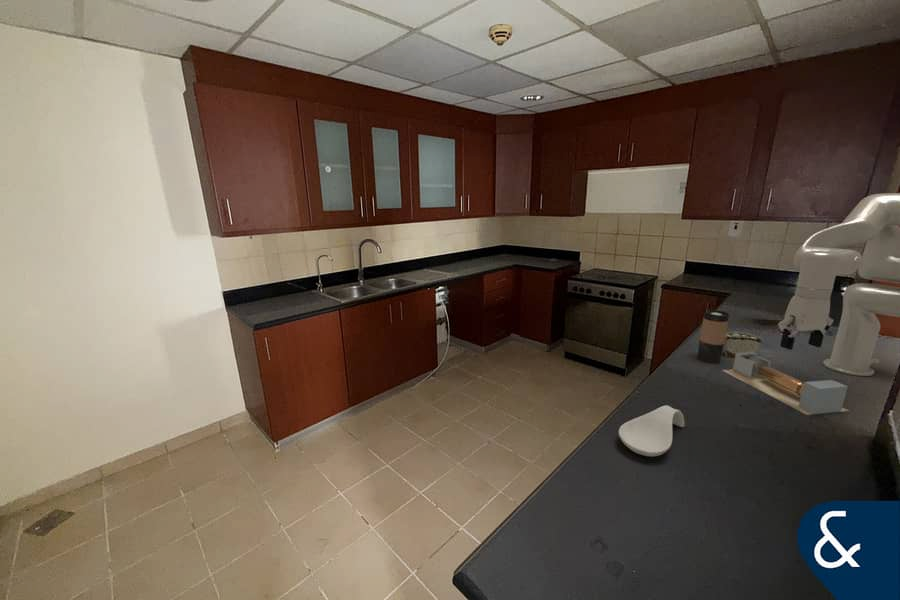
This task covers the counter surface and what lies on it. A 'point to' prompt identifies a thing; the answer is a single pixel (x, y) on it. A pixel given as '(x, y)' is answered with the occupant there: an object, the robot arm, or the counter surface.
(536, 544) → the counter surface
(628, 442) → the spoon rest
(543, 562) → the counter surface
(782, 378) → the tube
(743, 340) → the food container
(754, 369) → the sleeve
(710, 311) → the travel mug
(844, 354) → the robot arm
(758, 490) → the counter surface
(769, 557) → the counter surface
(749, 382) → the board
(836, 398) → the socket
